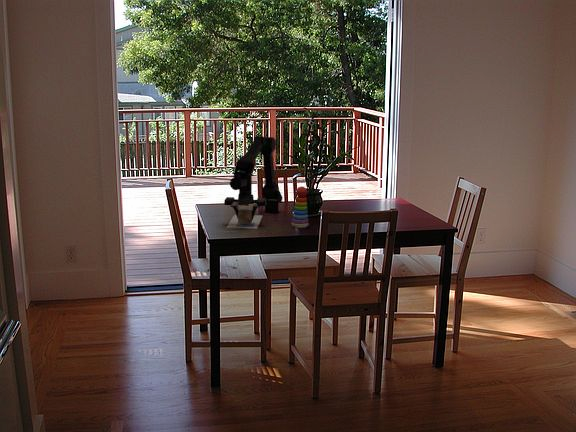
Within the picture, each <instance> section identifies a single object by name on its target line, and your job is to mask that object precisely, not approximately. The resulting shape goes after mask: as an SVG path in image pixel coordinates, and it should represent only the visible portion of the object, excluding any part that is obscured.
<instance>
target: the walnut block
mask: <svg viewBox="0 0 576 432" xmlns="http://www.w3.org/2000/svg"><path fill="white" fill-rule="evenodd" d="M249 209H250V208H249ZM249 209H248V208H239V211H238V223H251V222H252V211H253V209H252V210H249Z"/></svg>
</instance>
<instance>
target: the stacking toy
mask: <svg viewBox="0 0 576 432" xmlns="http://www.w3.org/2000/svg"><path fill="white" fill-rule="evenodd" d="M295 193H296V197H295V202H294V204H295V205H294V209H293V214H292V219H291V226H292V227H294V228H298V229H299V228H300V229H301V228H308V226H309V218H308V217H309V214H308V202H307V199H308V198H307V197H306V196H307V194H308V190H307V188H306V187H304V186H298V187H297V188H296V191H295Z"/></svg>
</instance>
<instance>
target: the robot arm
mask: <svg viewBox="0 0 576 432" xmlns="http://www.w3.org/2000/svg"><path fill="white" fill-rule="evenodd" d="M276 146H277V140H276V139H275V137H272V136H263V135H262V136H261V135H260V136H259V135H257V136H253V141H252V143H251V144H250V146H249V147H248V150H247V151H246V153H245V154H243V155H241V156H240V157H239V159H237V161H236V164H235V168H234V171H233V177H232V178H231V179H230V181H229V186H230V188H231V189H232V190H233V191H238V196H237V198H236V199H235V197H234V196H233V197H231V196H227V197H226V198H225V199H224V201H223V202H224V206H230V208H232V209H233V210H234V212H235V215H237V218H238V211H239V210H240V207H239V206H241V207H242V206H245V207H247V206H249V205H253V206H252V210H253V211H252V220H253V218H254V215H256V211H257V209H259V208H260V207H264V213H266V214H267V213H268V214H278V213H280V203H282V202H283V196H282V193H281V191H280V187H279V185H278V183H277V182H276V179H275V167H274V166H275V165H274V152H275V150H276V148H277V147H276ZM260 153H261V155H262V159H263V171H264V172H263V174H264V185H263V186H262V188H261V196H262V197H257V199H254V197H255V196H254V194H253V191H252V187H253V185H252V183H253V181H252V178H253V176H254V173H253V172H254V169H255V167H256V163H255V161H256V159H257V157H258V155H259V154H260Z"/></svg>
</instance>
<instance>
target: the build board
mask: <svg viewBox="0 0 576 432" xmlns="http://www.w3.org/2000/svg"><path fill="white" fill-rule="evenodd" d="M262 218H263V215H262V214H261V215H256V214H255V215H254V218H253V220H252V222H251V223H238V218H237V215H236V214H233V216H232V218H231V220H229V223H228V224H227V226H226V227H225V228H227V229H229V228H230V229H258V227H259V226H260V223H261V221H262Z"/></svg>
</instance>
